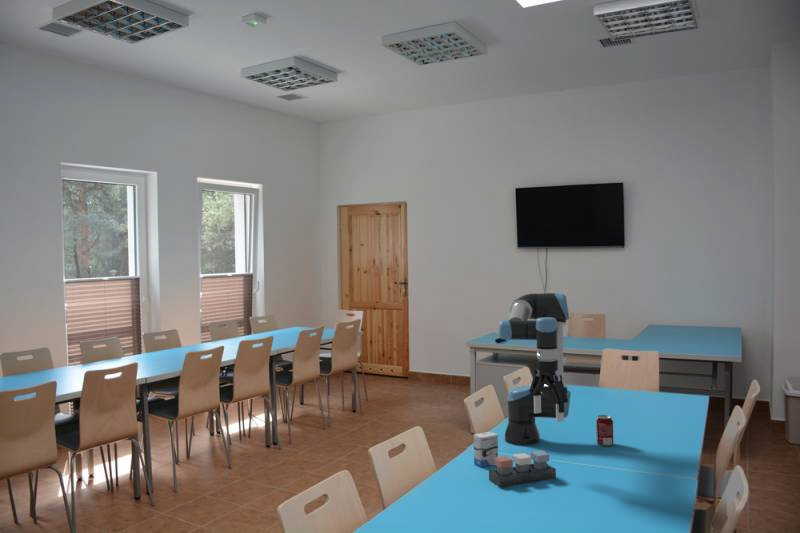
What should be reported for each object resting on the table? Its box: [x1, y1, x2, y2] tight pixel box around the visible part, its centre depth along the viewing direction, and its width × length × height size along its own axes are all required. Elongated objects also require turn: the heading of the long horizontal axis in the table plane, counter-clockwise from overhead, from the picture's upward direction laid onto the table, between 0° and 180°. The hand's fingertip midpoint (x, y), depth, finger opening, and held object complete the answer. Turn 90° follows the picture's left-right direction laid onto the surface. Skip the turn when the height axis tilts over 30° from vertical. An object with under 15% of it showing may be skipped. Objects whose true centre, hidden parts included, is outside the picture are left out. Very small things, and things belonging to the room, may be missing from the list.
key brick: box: [494, 455, 514, 476], centre depth 222 cm, size 5×5×5 cm
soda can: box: [595, 414, 614, 448], centre depth 261 cm, size 7×7×12 cm
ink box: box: [473, 431, 499, 468], centre depth 241 cm, size 8×5×12 cm, turn 118°
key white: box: [512, 452, 532, 473], centre depth 224 cm, size 5×5×5 cm
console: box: [488, 463, 557, 489], centre depth 224 cm, size 23×8×4 cm, turn 109°
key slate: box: [530, 450, 550, 470], centre depth 227 cm, size 5×5×5 cm
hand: (548, 417), depth 228 cm, fingers open, 13 cm apart
